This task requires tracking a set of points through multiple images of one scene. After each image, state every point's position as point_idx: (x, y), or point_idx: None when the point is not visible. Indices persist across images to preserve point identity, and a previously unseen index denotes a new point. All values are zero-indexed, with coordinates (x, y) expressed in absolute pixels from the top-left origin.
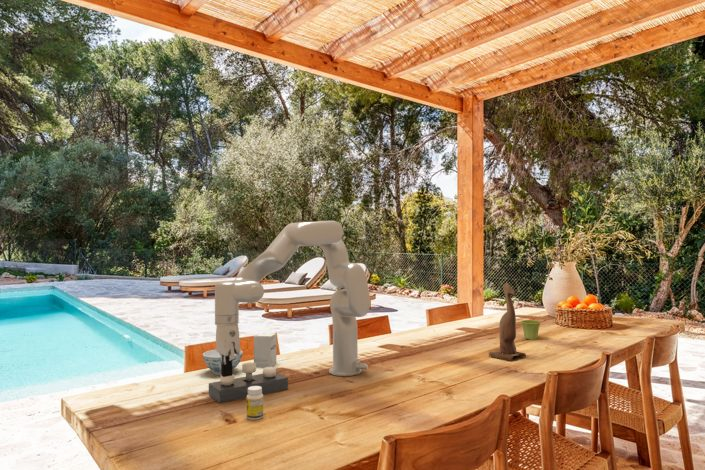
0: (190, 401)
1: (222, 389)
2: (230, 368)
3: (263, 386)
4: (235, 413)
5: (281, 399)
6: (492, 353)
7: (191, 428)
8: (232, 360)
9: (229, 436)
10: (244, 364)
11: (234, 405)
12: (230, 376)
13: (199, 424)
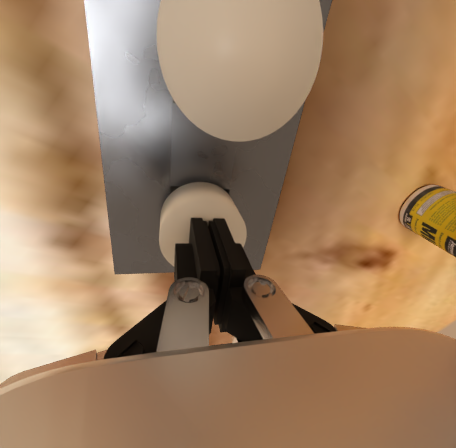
0: (156, 298)
1: (255, 256)
2: (249, 264)
3: None
4: (353, 234)
5: (415, 9)
6: None
7: (335, 323)
8: (285, 301)
9: (426, 284)
10: (216, 106)
11: (299, 210)
12: (235, 232)
13: (332, 310)
